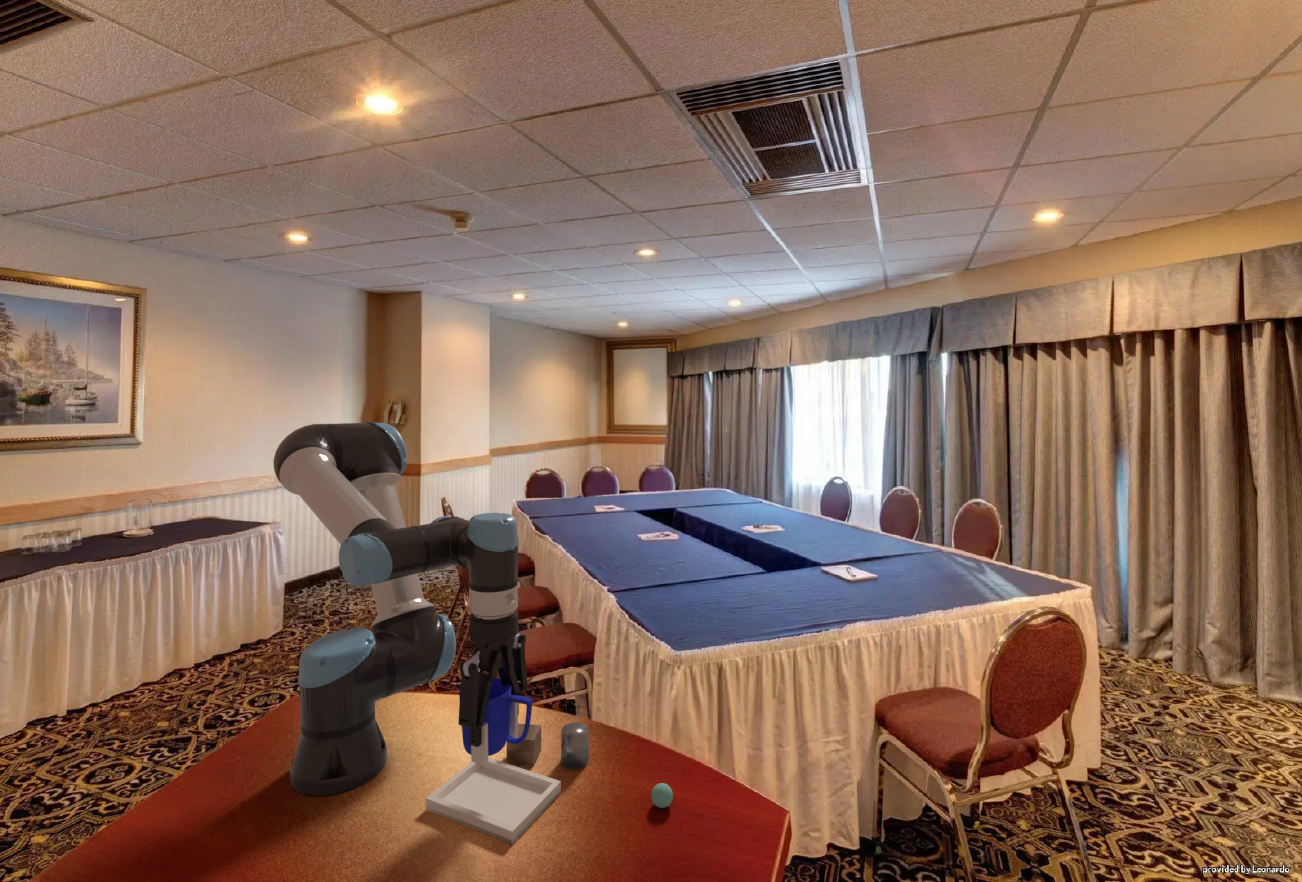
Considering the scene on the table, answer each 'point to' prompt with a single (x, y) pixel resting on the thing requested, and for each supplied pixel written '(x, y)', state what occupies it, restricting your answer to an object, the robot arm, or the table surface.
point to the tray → (494, 798)
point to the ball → (662, 795)
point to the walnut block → (525, 747)
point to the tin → (575, 746)
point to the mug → (500, 718)
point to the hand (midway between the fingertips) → (495, 749)
